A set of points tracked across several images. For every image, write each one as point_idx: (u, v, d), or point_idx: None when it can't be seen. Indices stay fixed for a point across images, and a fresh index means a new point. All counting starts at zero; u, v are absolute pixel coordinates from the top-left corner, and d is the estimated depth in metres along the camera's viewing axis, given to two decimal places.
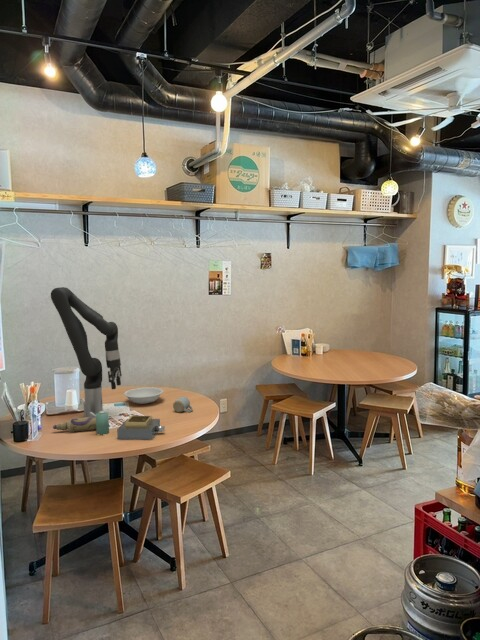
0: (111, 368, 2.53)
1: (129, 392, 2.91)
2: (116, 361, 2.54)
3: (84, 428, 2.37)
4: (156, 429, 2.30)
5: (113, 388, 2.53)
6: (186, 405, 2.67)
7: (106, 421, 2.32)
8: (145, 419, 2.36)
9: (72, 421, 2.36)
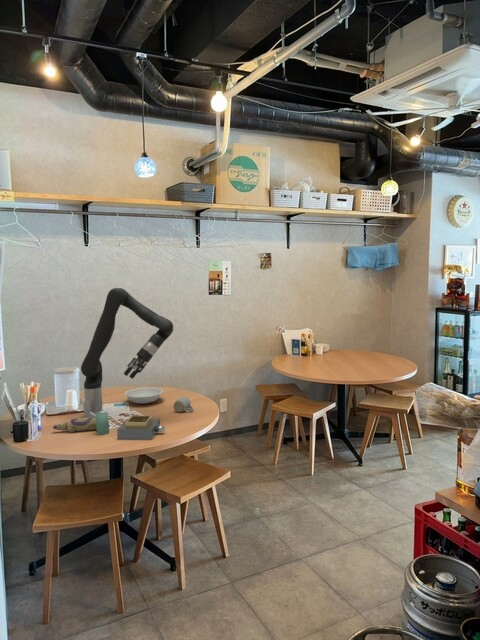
0: (144, 359, 2.42)
1: (129, 392, 2.91)
2: (151, 357, 2.45)
3: (84, 428, 2.37)
4: (156, 429, 2.30)
5: (131, 377, 2.37)
6: (187, 405, 2.67)
7: (106, 421, 2.32)
8: (145, 419, 2.36)
9: (72, 421, 2.36)
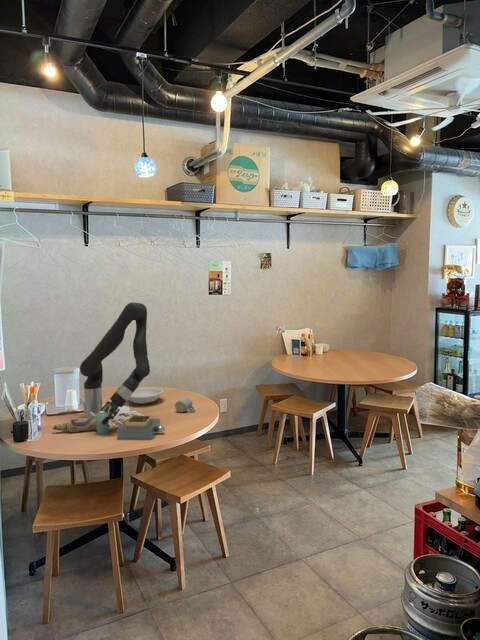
0: (117, 405, 2.34)
1: None
2: (125, 402, 2.37)
3: (84, 429, 2.36)
4: (156, 429, 2.30)
5: (103, 423, 2.30)
6: (188, 405, 2.67)
7: None
8: (145, 419, 2.36)
9: (72, 422, 2.36)
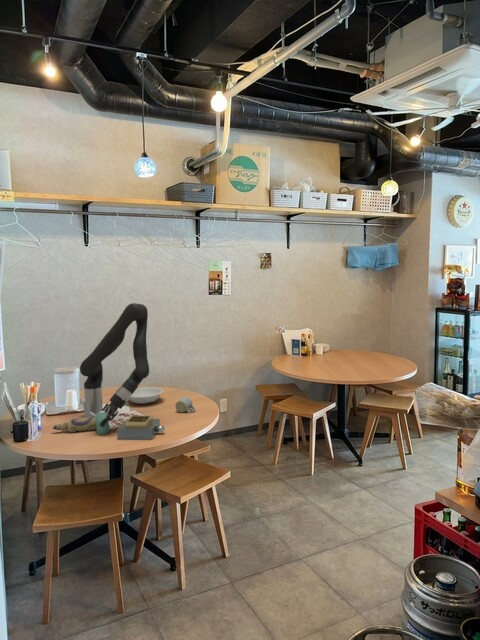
0: (116, 406, 2.34)
1: None
2: (124, 403, 2.37)
3: (84, 428, 2.36)
4: (156, 429, 2.30)
5: (101, 425, 2.30)
6: (188, 405, 2.67)
7: None
8: (145, 419, 2.36)
9: (72, 421, 2.36)
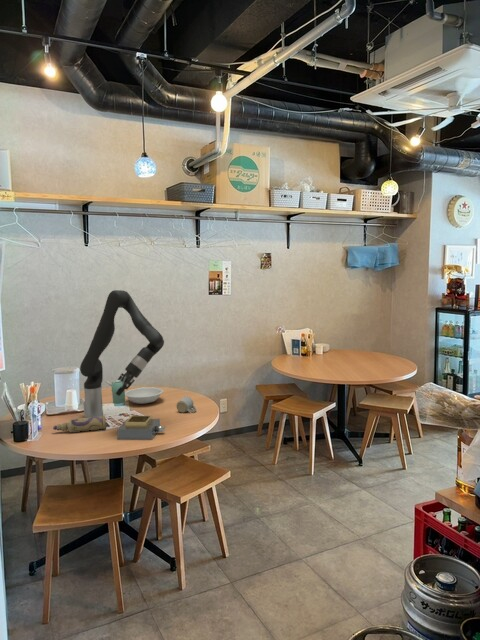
0: (132, 375, 2.31)
1: (129, 392, 2.91)
2: (140, 372, 2.34)
3: (85, 428, 2.36)
4: (156, 429, 2.30)
5: (118, 394, 2.27)
6: (190, 405, 2.67)
7: None
8: (145, 419, 2.36)
9: (72, 422, 2.35)
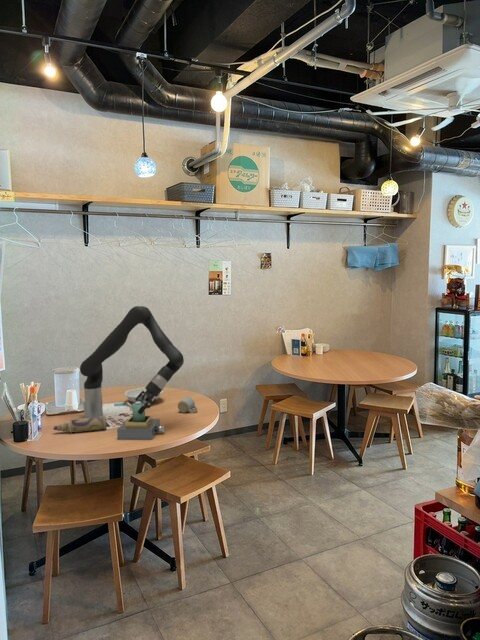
0: (153, 394, 2.31)
1: (129, 392, 2.91)
2: (160, 391, 2.34)
3: (85, 429, 2.35)
4: (156, 429, 2.30)
5: (139, 412, 2.27)
6: (191, 405, 2.66)
7: None
8: (145, 419, 2.36)
9: (73, 422, 2.35)
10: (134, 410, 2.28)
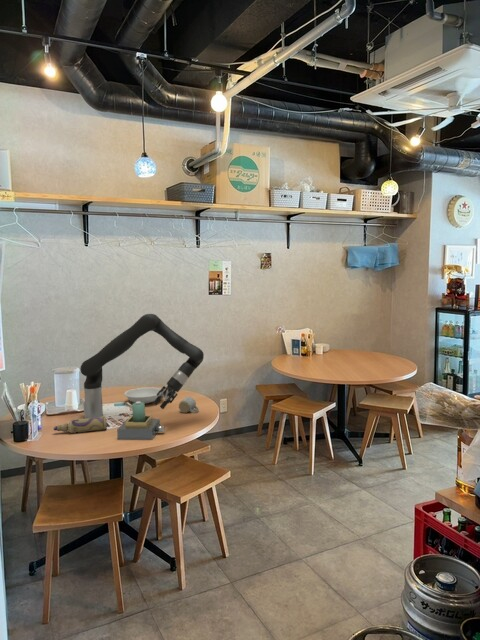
0: (174, 389, 2.38)
1: (129, 392, 2.91)
2: (181, 386, 2.41)
3: (85, 429, 2.35)
4: (156, 429, 2.30)
5: (162, 407, 2.33)
6: (192, 405, 2.66)
7: (143, 411, 2.30)
8: (145, 419, 2.36)
9: (73, 422, 2.35)
10: (134, 410, 2.29)
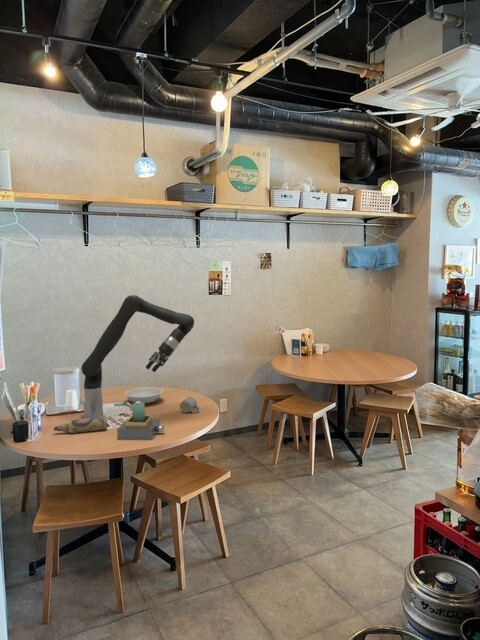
0: (165, 353, 2.47)
1: (129, 392, 2.91)
2: (172, 351, 2.50)
3: (85, 429, 2.35)
4: (156, 429, 2.30)
5: (153, 370, 2.43)
6: (193, 406, 2.66)
7: (143, 411, 2.30)
8: (145, 419, 2.36)
9: (73, 422, 2.34)
10: (134, 410, 2.29)
